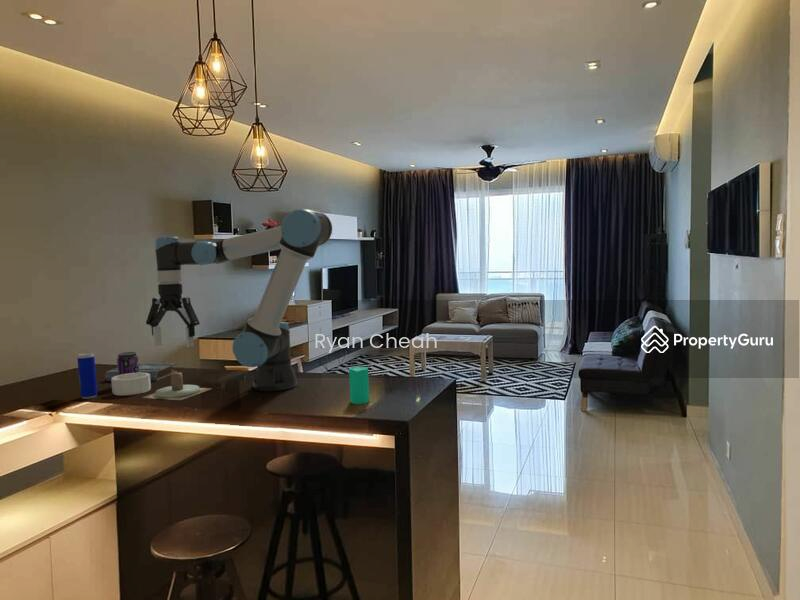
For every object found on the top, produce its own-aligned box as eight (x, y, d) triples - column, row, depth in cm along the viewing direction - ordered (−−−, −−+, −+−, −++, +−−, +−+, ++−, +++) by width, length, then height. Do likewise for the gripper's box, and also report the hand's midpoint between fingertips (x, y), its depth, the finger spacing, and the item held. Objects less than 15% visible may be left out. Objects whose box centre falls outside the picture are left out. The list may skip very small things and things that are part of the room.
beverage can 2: (132, 387, 218) (129, 355, 217) (114, 387, 219) (112, 355, 218) (144, 383, 225) (141, 351, 224) (127, 382, 226) (124, 351, 225)
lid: (208, 389, 207) (206, 370, 207) (180, 399, 194) (179, 378, 193) (175, 387, 212) (174, 368, 211) (146, 396, 199) (144, 377, 198)
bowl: (158, 389, 212) (157, 373, 212) (132, 398, 201) (131, 380, 201) (131, 388, 216) (130, 371, 216) (105, 396, 205) (103, 379, 205)
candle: (346, 402, 185) (344, 364, 184) (358, 398, 190) (356, 360, 189) (361, 404, 182) (360, 365, 181) (373, 400, 187) (371, 362, 186)
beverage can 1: (84, 395, 208) (81, 353, 206) (100, 394, 208) (96, 352, 207) (78, 399, 202) (74, 355, 201) (93, 398, 203) (90, 354, 201)
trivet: (212, 390, 208) (212, 388, 208) (180, 402, 193) (180, 400, 193) (175, 388, 213) (175, 386, 213) (141, 399, 198) (141, 397, 198)
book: (105, 382, 230) (104, 369, 230) (130, 373, 246) (129, 361, 246) (156, 382, 227) (155, 369, 227) (178, 373, 244) (177, 361, 243)
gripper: (208, 282, 199) (211, 345, 201) (148, 282, 208) (152, 343, 209) (192, 283, 192) (196, 348, 194) (132, 284, 201) (136, 346, 202)
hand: (173, 346), depth 202 cm, fingers open, 13 cm apart
